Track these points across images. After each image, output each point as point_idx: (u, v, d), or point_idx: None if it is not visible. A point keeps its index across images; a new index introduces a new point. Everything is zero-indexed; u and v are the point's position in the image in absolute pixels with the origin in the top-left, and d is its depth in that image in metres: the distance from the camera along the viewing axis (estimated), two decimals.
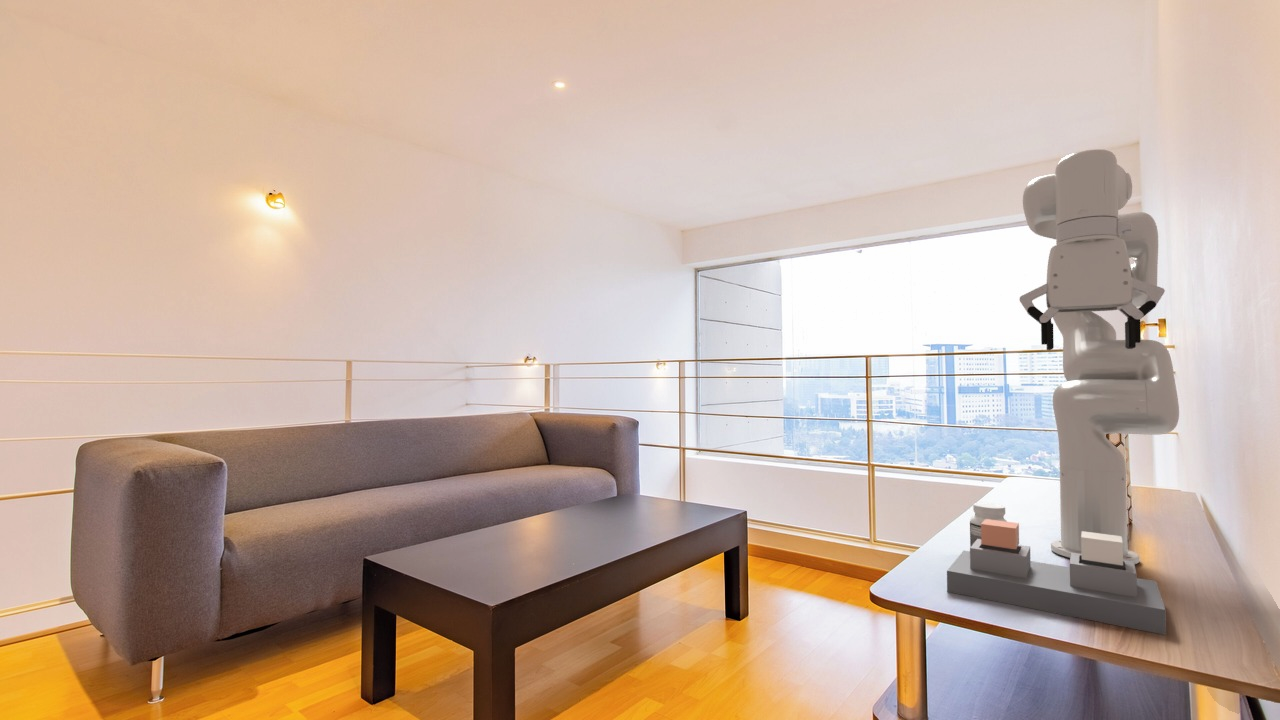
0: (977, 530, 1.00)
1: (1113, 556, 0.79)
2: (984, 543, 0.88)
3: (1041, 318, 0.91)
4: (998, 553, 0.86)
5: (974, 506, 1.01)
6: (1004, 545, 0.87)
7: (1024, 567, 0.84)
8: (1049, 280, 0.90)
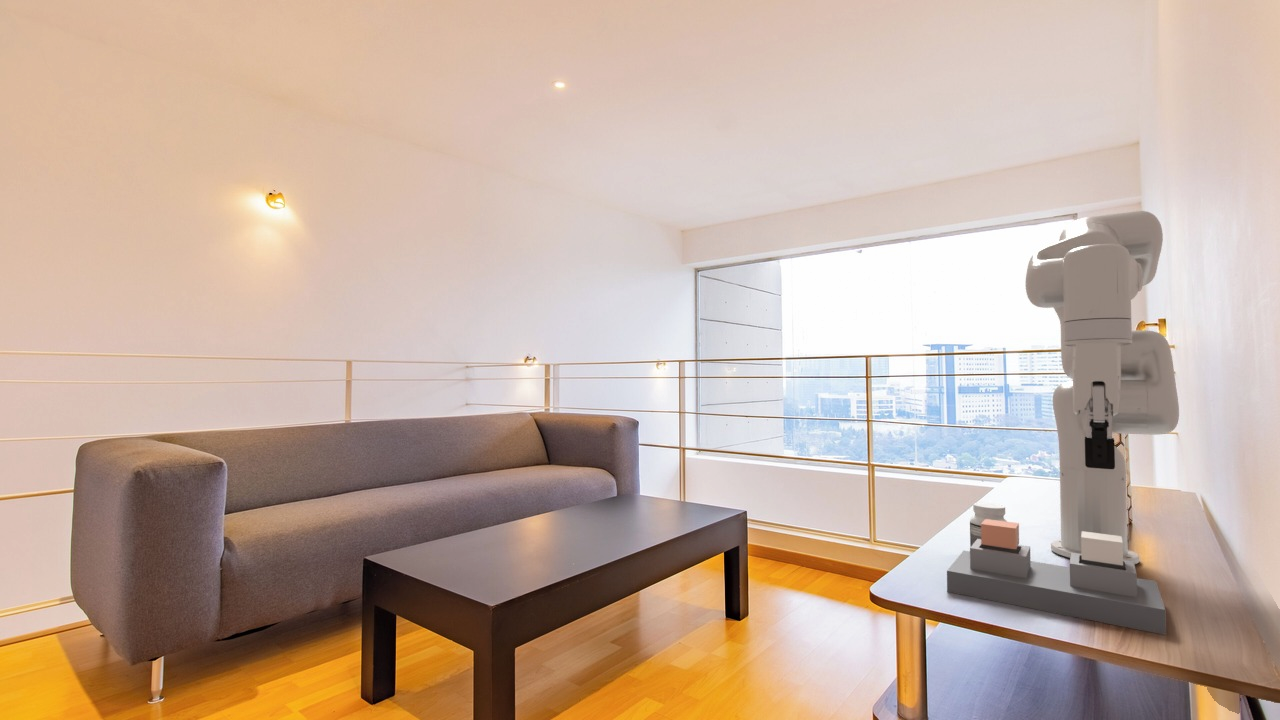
0: (977, 530, 1.00)
1: (1113, 556, 0.79)
2: (984, 543, 0.88)
3: None
4: (998, 553, 0.86)
5: (974, 506, 1.01)
6: (1004, 545, 0.87)
7: (1024, 567, 0.84)
8: (1113, 382, 0.78)
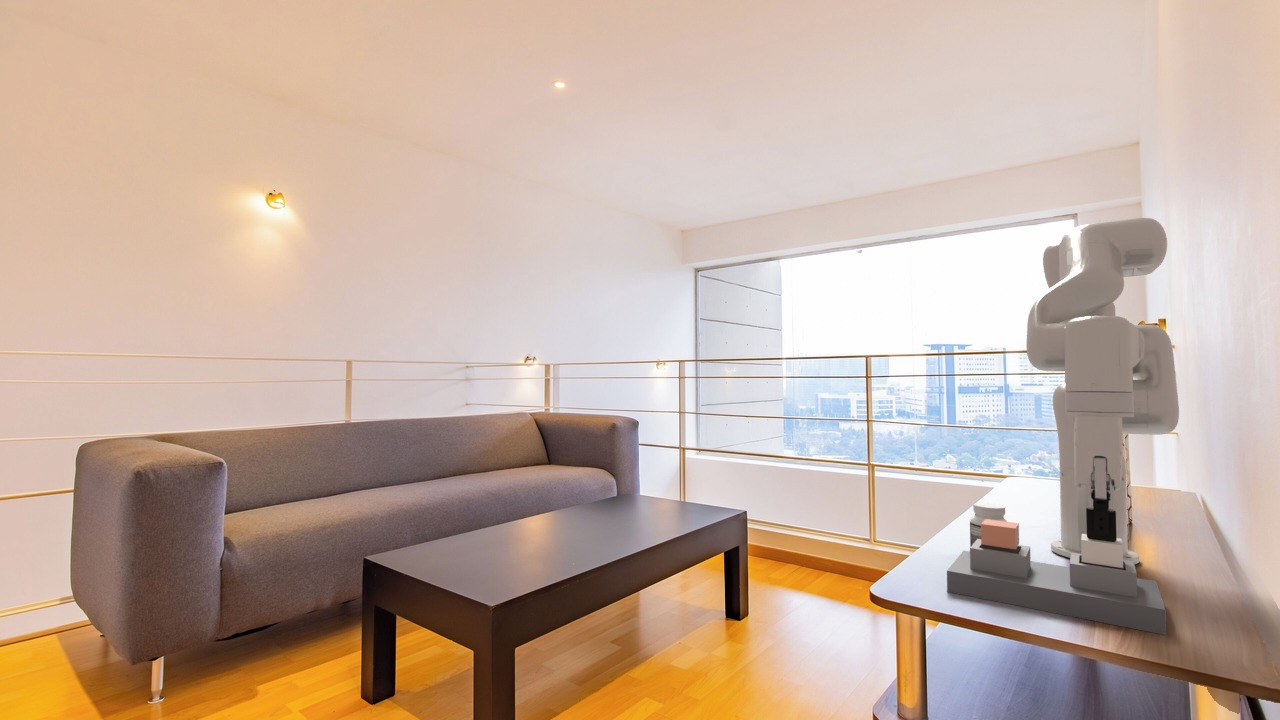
0: (977, 530, 1.00)
1: (1113, 559, 0.79)
2: (984, 543, 0.88)
3: None
4: (998, 553, 0.86)
5: (974, 506, 1.01)
6: (1004, 545, 0.87)
7: (1024, 567, 0.84)
8: (1115, 457, 0.77)
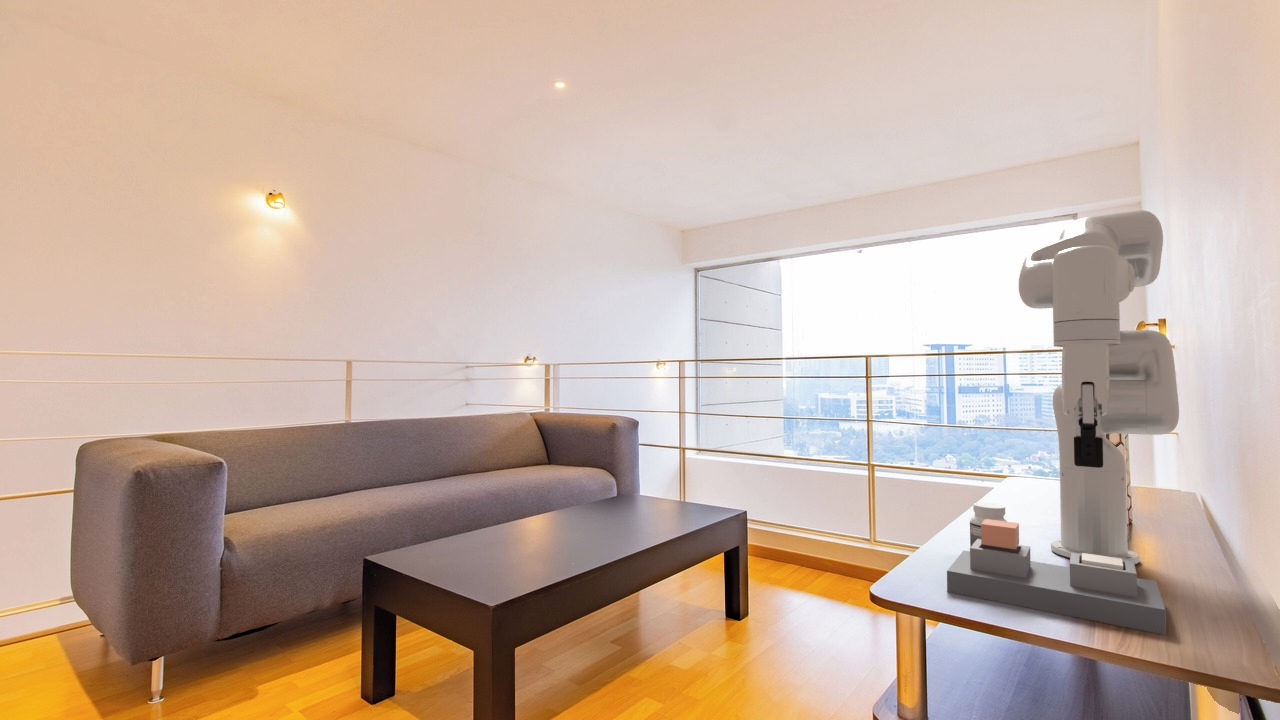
0: (977, 530, 1.00)
1: None
2: (984, 543, 0.88)
3: None
4: (998, 553, 0.86)
5: (974, 506, 1.01)
6: (1004, 545, 0.87)
7: (1024, 567, 0.84)
8: (1102, 382, 0.78)
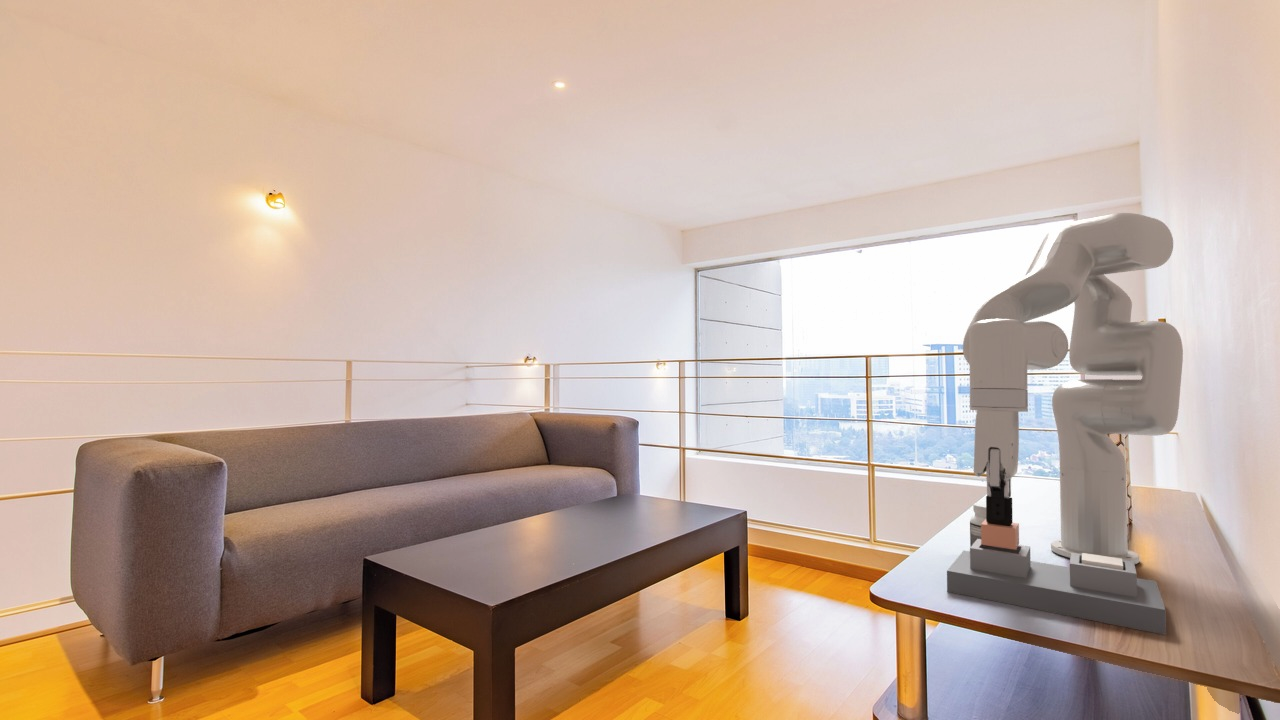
0: (977, 530, 1.00)
1: None
2: (984, 543, 0.88)
3: None
4: (998, 553, 0.86)
5: (974, 506, 1.01)
6: (1004, 545, 0.87)
7: (1024, 567, 0.84)
8: (1007, 448, 0.85)
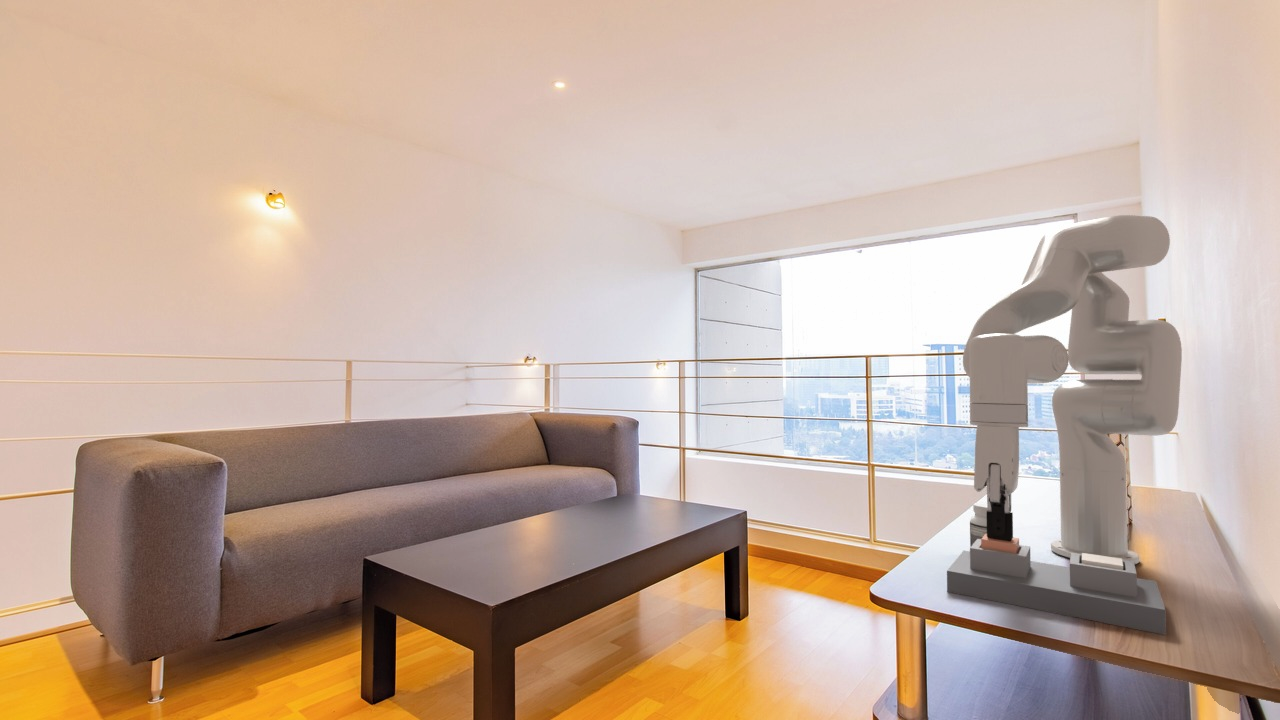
0: (977, 530, 1.00)
1: None
2: None
3: None
4: (998, 553, 0.86)
5: (974, 506, 1.01)
6: None
7: (1024, 567, 0.84)
8: (1007, 464, 0.84)
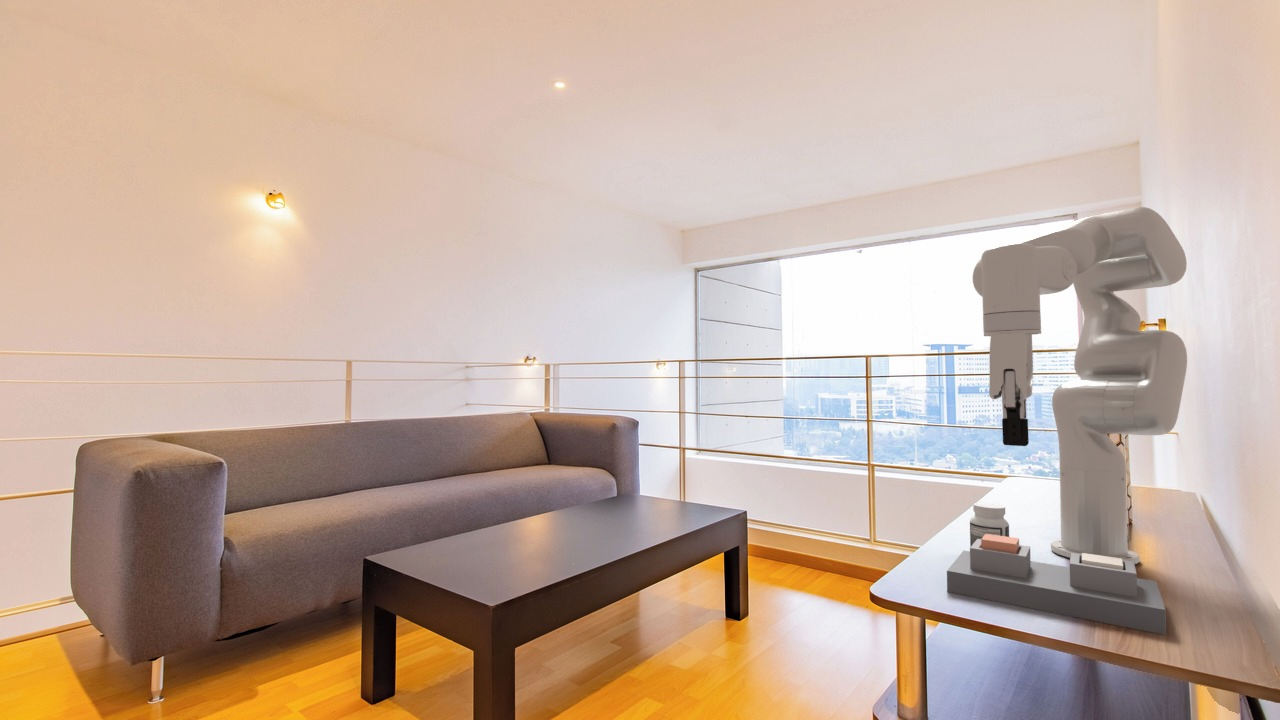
0: (977, 530, 1.00)
1: None
2: None
3: None
4: (998, 553, 0.86)
5: (974, 506, 1.01)
6: None
7: (1024, 567, 0.84)
8: (1022, 369, 0.86)
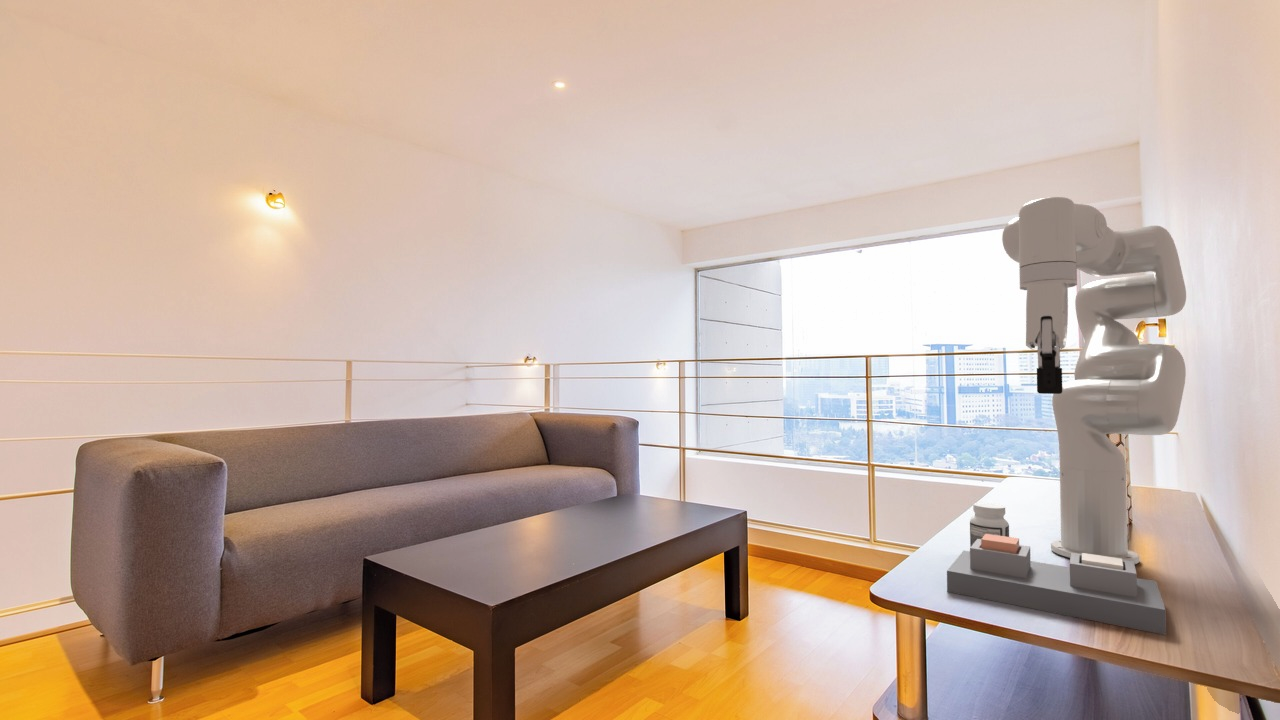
0: (977, 530, 1.00)
1: None
2: None
3: None
4: (998, 553, 0.86)
5: (974, 506, 1.01)
6: None
7: (1024, 567, 0.84)
8: (1059, 316, 0.89)
